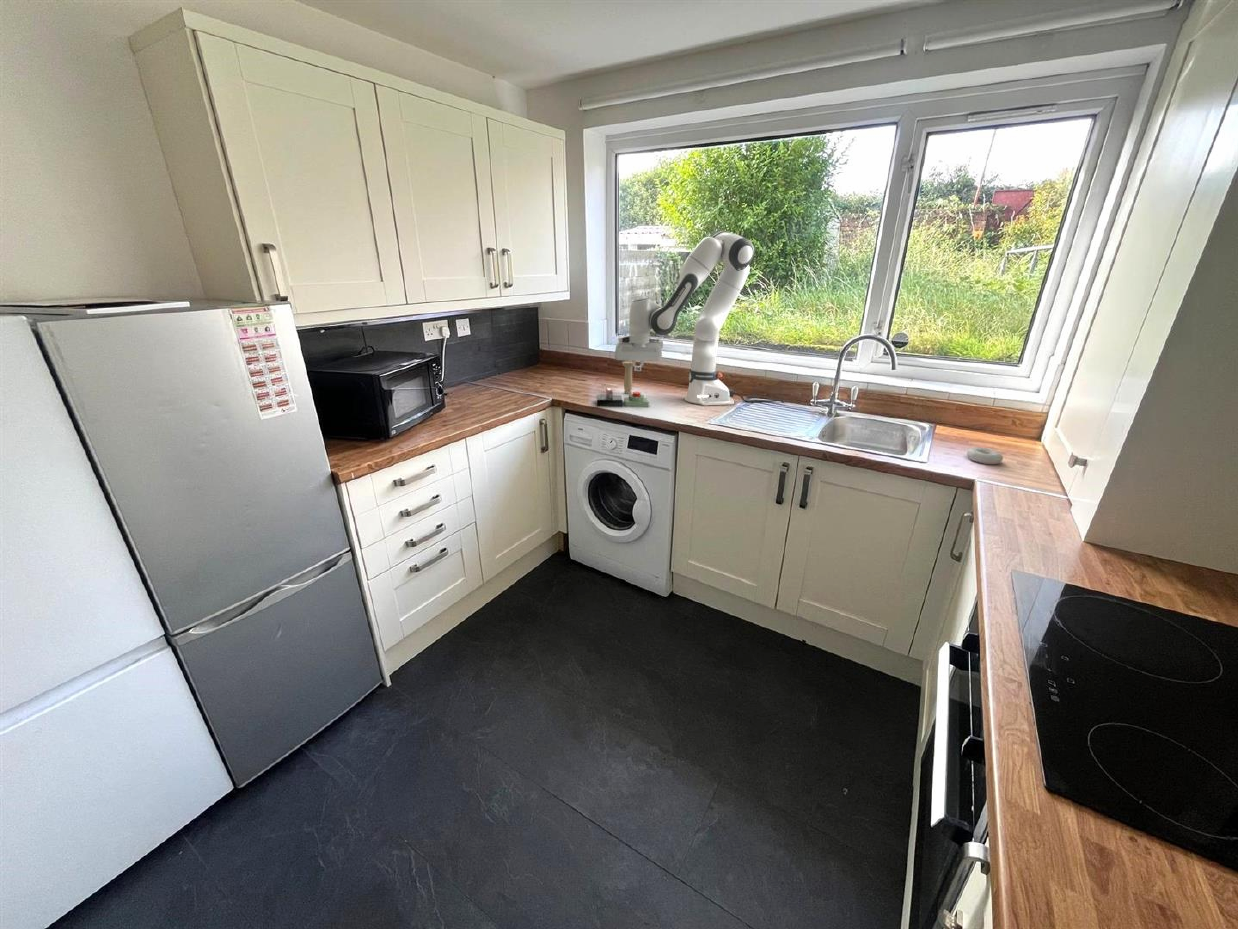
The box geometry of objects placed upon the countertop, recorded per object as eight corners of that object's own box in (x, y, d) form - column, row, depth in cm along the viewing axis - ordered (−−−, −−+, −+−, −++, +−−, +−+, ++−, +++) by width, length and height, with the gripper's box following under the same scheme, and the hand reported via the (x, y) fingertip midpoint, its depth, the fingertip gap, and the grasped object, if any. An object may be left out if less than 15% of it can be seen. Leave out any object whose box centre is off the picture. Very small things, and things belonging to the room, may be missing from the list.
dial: (606, 395, 222) (606, 387, 221) (609, 395, 223) (609, 387, 221) (608, 398, 217) (609, 390, 215) (612, 398, 217) (612, 390, 216)
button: (640, 395, 222) (640, 391, 222) (640, 397, 219) (641, 393, 218) (631, 395, 222) (632, 391, 221) (632, 397, 219) (632, 393, 218)
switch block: (646, 402, 226) (646, 393, 224) (648, 406, 218) (648, 398, 217) (624, 402, 225) (624, 393, 224) (625, 406, 218) (625, 397, 216)
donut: (987, 467, 162) (1008, 464, 165) (990, 457, 160) (1011, 454, 163) (958, 457, 170) (979, 454, 173) (961, 447, 169) (982, 444, 172)
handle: (635, 394, 240) (637, 362, 235) (623, 394, 238) (624, 363, 232) (631, 391, 244) (633, 361, 239) (619, 392, 242) (620, 361, 237)
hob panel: (620, 401, 226) (620, 394, 225) (622, 407, 216) (622, 400, 215) (596, 400, 225) (596, 394, 224) (597, 406, 216) (597, 399, 215)
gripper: (662, 337, 215) (660, 369, 220) (615, 336, 213) (614, 368, 218) (664, 339, 209) (662, 372, 214) (615, 338, 207) (614, 371, 213)
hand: (637, 370), depth 216 cm, fingers closed
